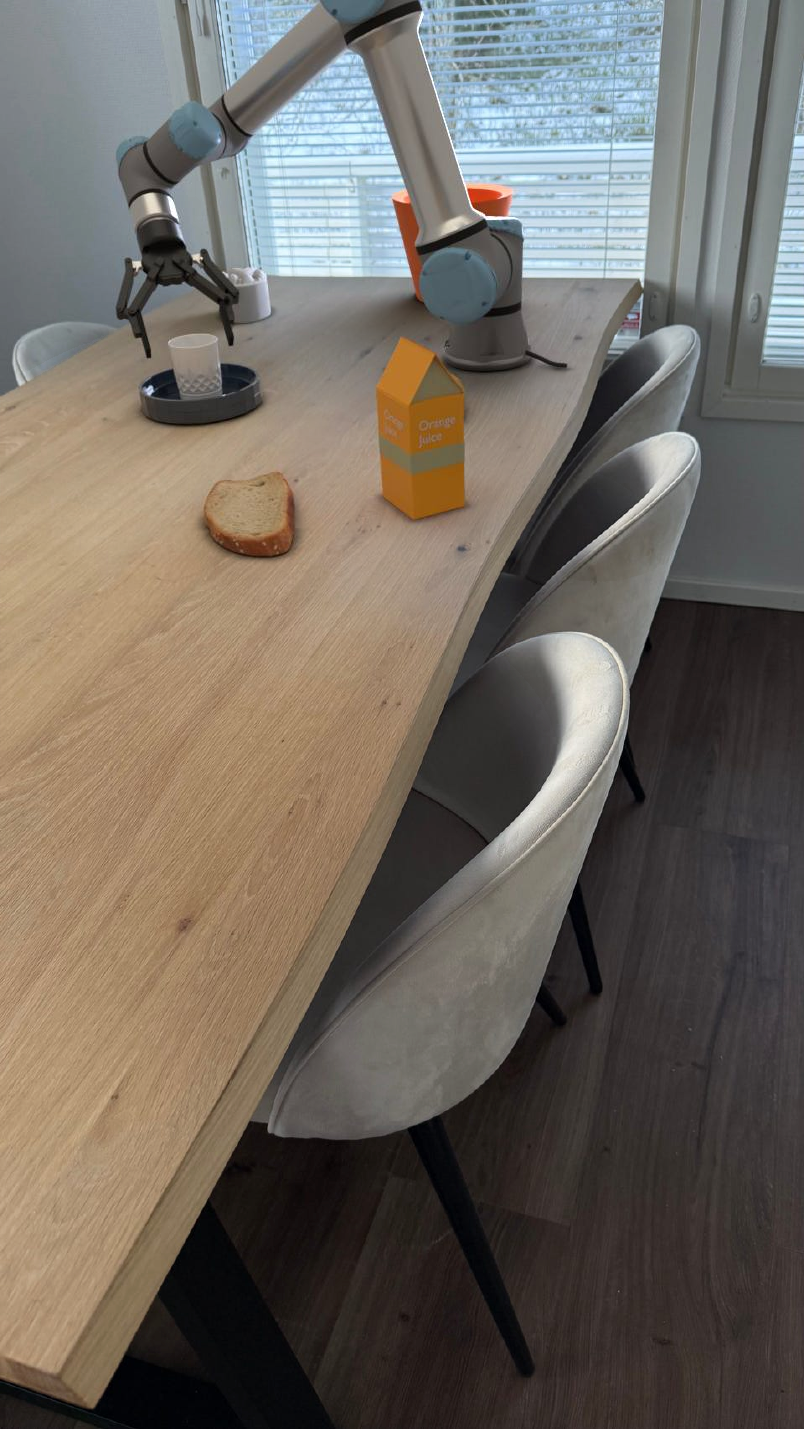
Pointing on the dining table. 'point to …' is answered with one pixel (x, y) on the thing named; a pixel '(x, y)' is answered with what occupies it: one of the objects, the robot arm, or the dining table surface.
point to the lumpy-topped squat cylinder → (250, 294)
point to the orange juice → (420, 433)
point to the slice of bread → (252, 515)
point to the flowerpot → (482, 199)
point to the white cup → (196, 366)
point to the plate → (168, 407)
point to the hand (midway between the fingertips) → (190, 348)
